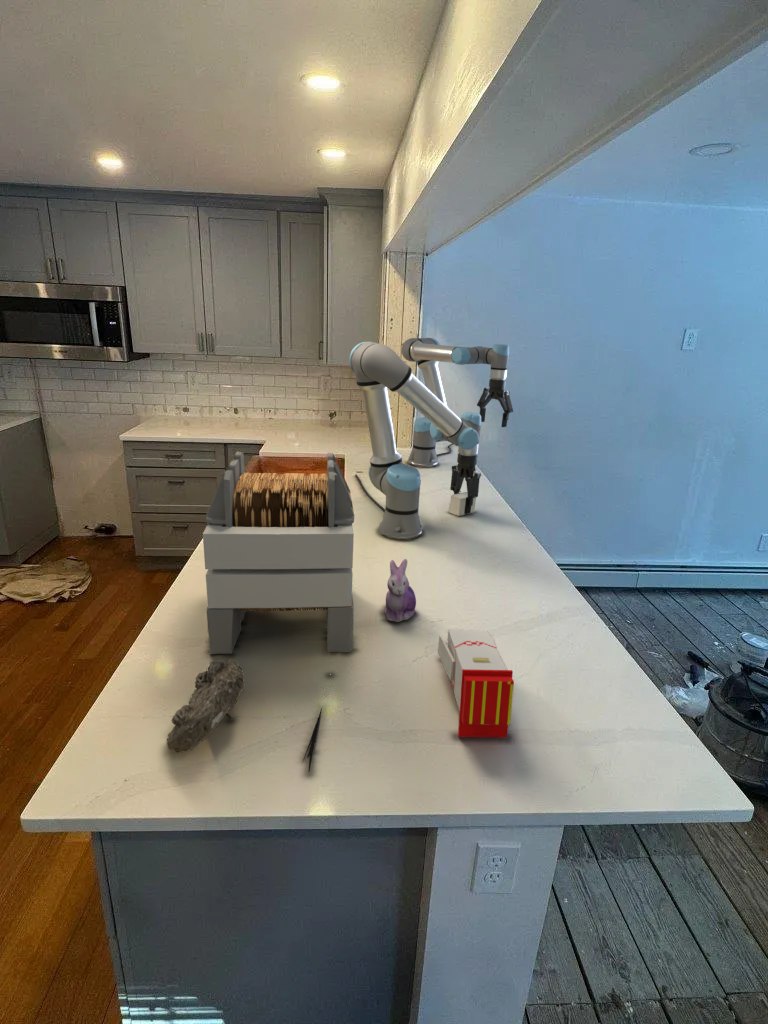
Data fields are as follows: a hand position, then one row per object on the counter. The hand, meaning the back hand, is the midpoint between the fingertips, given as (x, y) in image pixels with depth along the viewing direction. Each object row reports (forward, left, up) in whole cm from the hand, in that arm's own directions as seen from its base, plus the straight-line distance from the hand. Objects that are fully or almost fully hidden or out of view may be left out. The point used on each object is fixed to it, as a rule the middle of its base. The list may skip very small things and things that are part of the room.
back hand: (492, 424), depth 270 cm
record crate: (+154, -46, -25) cm, 163 cm away
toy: (+172, +2, -25) cm, 174 cm away
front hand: (+60, -8, -24) cm, 65 cm away
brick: (+60, -8, -25) cm, 65 cm away
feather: (+188, -26, -25) cm, 191 cm away
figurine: (+145, -18, -25) cm, 148 cm away
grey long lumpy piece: (+193, -46, -25) cm, 199 cm away
